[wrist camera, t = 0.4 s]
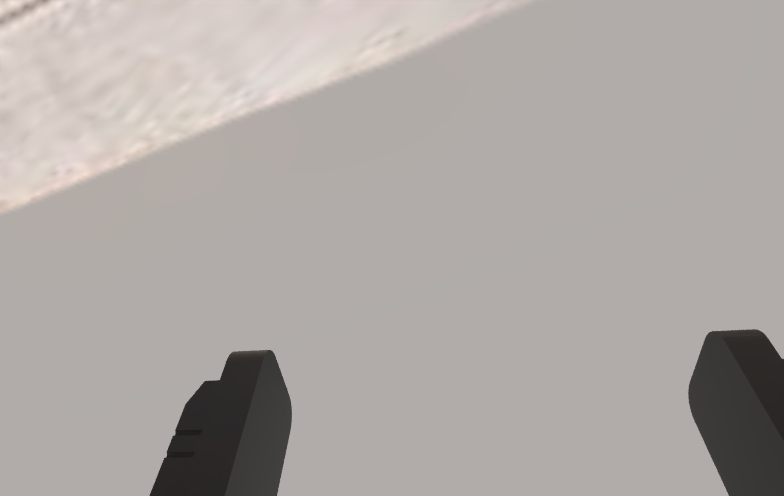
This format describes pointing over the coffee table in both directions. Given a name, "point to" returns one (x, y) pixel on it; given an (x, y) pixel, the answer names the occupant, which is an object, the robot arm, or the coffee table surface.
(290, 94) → the coffee table surface
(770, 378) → the robot arm
